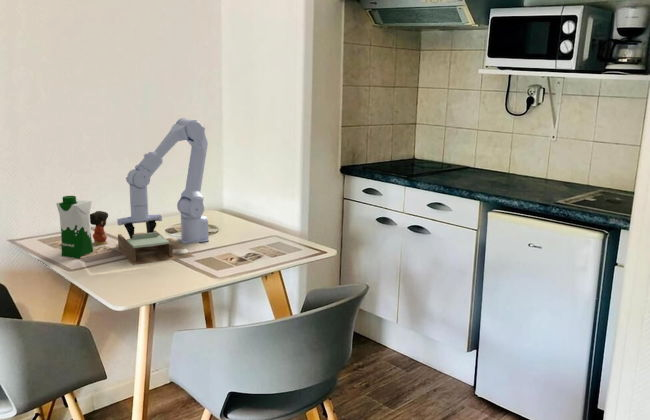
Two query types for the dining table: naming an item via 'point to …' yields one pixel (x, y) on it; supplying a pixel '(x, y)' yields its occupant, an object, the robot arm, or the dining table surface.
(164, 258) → the brown wooden tray
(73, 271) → the dining table surface
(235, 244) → the dining table surface
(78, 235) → the milk carton
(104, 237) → the figurine
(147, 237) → the lid
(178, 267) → the dining table surface
